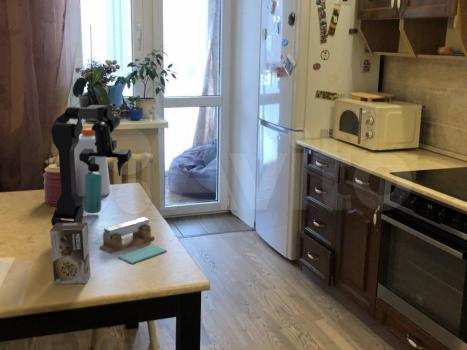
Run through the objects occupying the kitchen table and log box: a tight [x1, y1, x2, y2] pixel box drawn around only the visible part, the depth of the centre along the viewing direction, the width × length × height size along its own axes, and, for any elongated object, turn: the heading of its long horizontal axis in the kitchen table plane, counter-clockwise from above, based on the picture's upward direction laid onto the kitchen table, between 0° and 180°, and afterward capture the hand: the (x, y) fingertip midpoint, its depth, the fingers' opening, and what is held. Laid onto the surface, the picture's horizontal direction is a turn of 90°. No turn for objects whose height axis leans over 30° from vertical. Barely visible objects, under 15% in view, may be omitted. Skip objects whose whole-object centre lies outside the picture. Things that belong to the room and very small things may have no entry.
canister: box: [42, 159, 77, 207], centre depth 230 cm, size 13×13×18 cm
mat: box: [117, 244, 168, 265], centre depth 179 cm, size 14×7×1 cm, turn 138°
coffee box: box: [49, 222, 91, 285], centre depth 158 cm, size 9×6×16 cm
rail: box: [103, 217, 150, 240], centre depth 186 cm, size 16×3×3 cm, turn 138°
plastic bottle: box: [74, 127, 111, 198], centre depth 243 cm, size 15×15×28 cm
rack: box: [99, 224, 155, 254], centre depth 187 cm, size 18×6×5 cm, turn 138°
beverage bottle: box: [83, 163, 103, 214], centre depth 213 cm, size 6×7×20 cm
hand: (108, 175), depth 215 cm, fingers open, 9 cm apart
